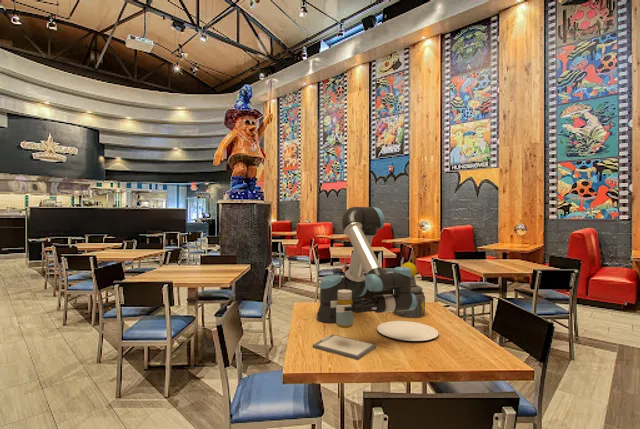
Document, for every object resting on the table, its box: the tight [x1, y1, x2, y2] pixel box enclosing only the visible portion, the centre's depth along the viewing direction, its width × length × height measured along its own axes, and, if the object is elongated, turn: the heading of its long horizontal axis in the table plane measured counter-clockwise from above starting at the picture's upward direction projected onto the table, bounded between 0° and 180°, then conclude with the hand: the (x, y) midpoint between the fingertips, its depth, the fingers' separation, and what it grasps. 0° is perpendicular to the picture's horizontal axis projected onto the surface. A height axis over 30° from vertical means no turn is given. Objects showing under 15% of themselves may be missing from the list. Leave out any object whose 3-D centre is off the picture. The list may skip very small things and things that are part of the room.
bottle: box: [335, 289, 354, 329], centre depth 148 cm, size 7×7×15 cm
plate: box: [376, 320, 439, 342], centre depth 168 cm, size 29×29×2 cm
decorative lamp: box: [392, 261, 426, 319], centre depth 201 cm, size 19×19×30 cm
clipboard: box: [312, 334, 377, 361], centre depth 148 cm, size 22×16×2 cm
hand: (333, 306), depth 147 cm, fingers closed on bottle, 7 cm apart
